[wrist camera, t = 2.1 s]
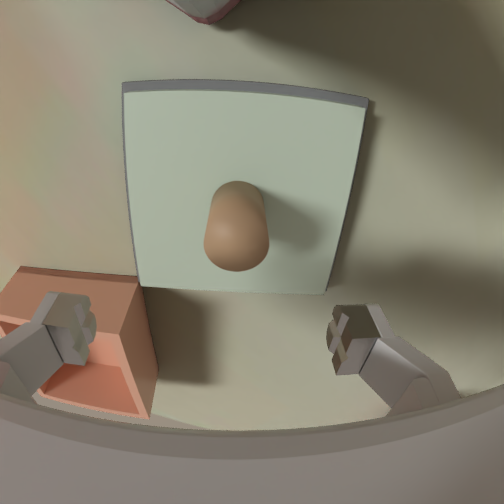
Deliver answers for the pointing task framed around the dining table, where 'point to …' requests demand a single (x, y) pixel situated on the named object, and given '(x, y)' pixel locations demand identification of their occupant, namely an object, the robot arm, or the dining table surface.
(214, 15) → the bottle
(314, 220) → the lid
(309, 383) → the dining table surface
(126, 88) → the mat
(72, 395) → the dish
